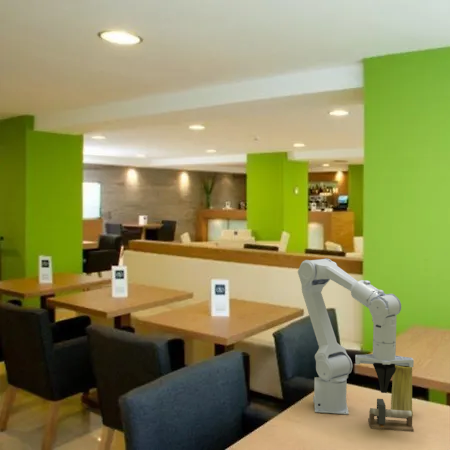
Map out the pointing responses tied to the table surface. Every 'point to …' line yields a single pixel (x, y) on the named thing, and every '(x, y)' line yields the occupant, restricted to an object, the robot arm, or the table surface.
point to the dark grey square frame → (381, 411)
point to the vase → (402, 389)
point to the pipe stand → (391, 423)
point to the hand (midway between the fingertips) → (383, 391)
